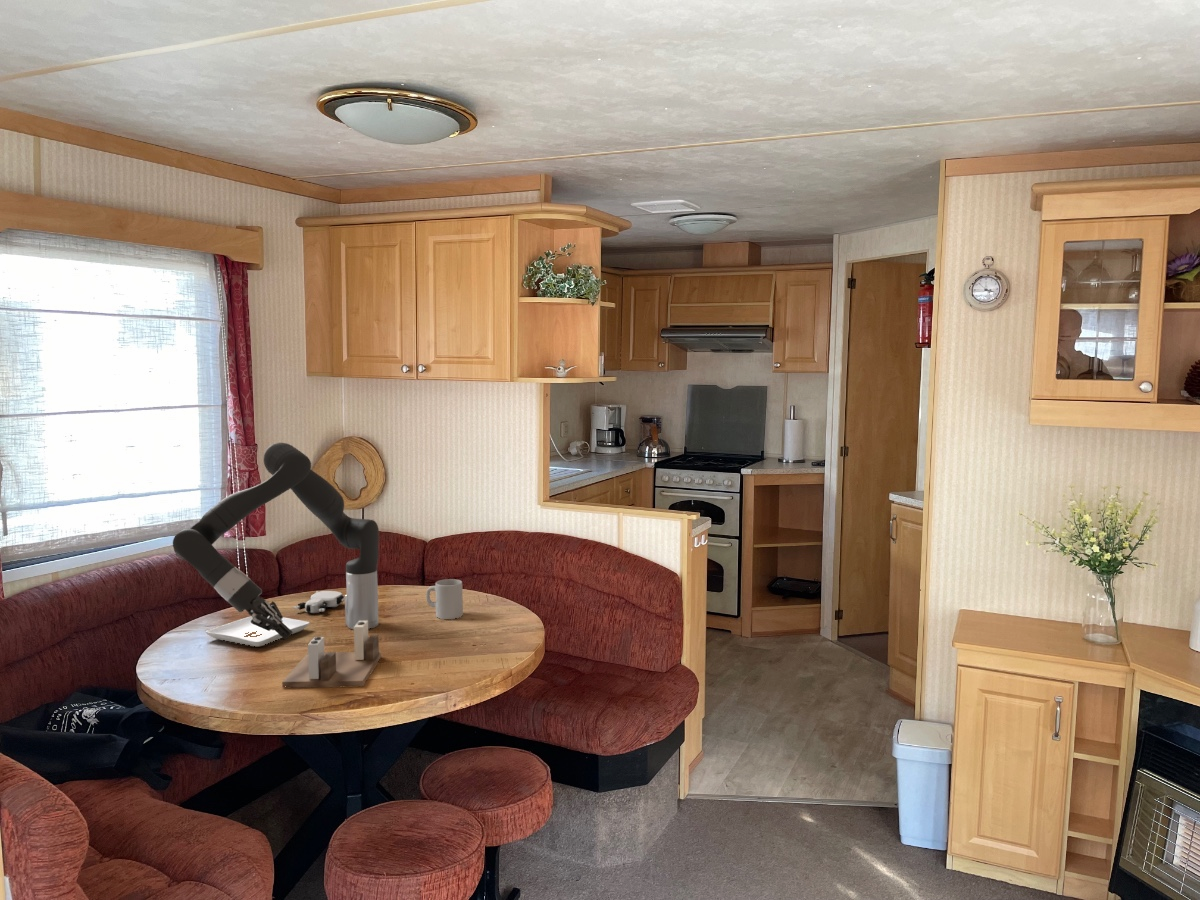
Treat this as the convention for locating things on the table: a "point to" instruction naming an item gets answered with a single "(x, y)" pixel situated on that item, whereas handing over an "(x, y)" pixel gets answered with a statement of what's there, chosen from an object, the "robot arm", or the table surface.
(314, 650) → the tile two
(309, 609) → the robot toy
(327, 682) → the brown piece
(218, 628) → the salad plate
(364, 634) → the tile one
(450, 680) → the table surface
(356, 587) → the robot arm
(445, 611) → the mug
